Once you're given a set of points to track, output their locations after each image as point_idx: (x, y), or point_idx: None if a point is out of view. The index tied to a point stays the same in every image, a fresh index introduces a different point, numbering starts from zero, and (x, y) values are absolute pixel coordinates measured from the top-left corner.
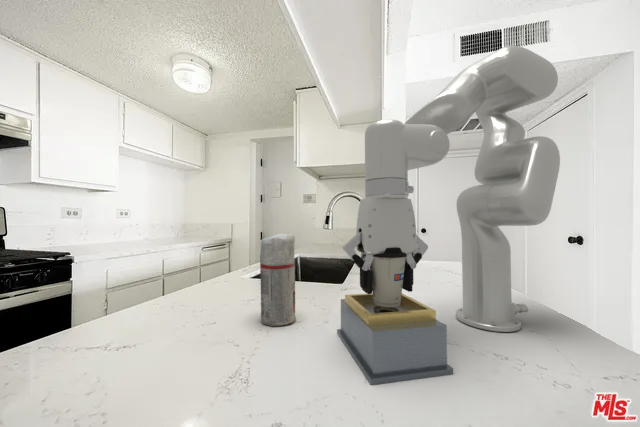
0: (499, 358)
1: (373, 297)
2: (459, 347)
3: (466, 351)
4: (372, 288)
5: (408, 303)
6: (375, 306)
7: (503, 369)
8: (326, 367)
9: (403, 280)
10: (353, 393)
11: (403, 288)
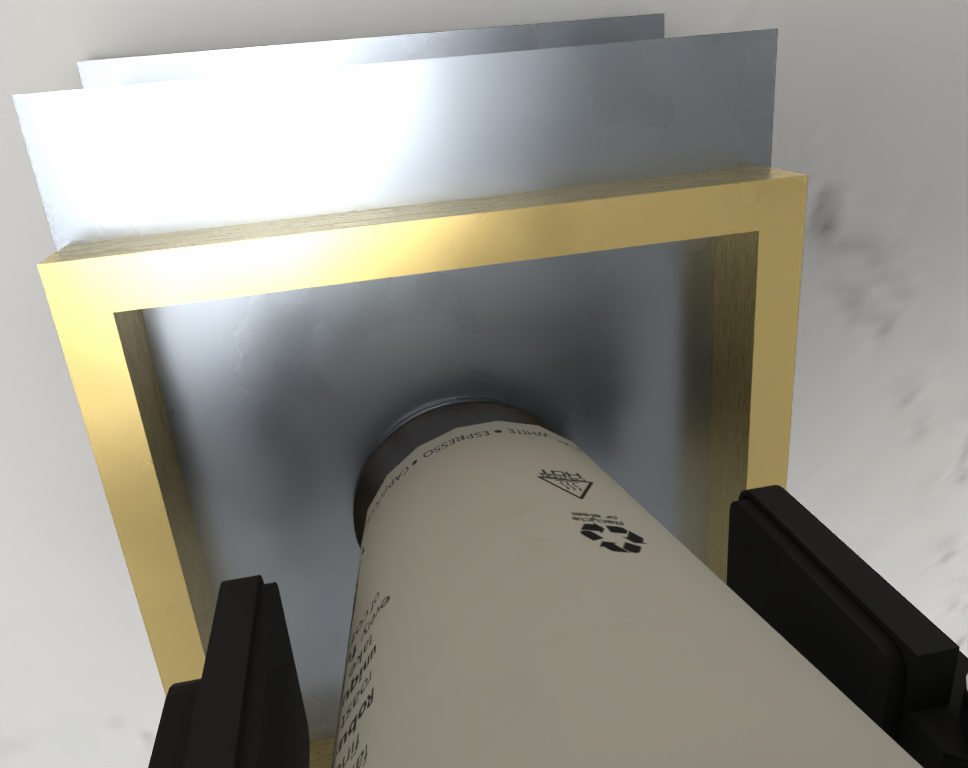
0: (958, 473)
1: (362, 547)
2: (870, 358)
3: (869, 403)
4: (352, 619)
5: (726, 429)
6: (404, 396)
7: (887, 556)
8: (7, 545)
9: (778, 625)
10: (147, 720)
11: (730, 564)
